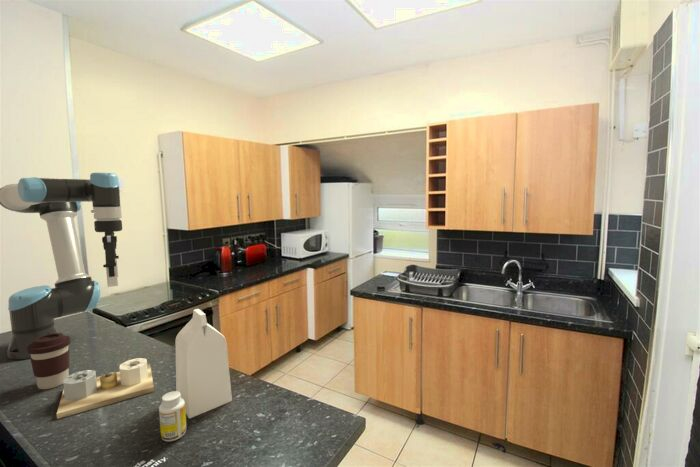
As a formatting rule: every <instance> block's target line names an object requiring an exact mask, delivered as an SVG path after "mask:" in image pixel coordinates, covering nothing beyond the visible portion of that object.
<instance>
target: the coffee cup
mask: <svg viewBox="0 0 700 467" xmlns="http://www.w3.org/2000/svg"><path fill="white" fill-rule="evenodd" d="M70 344H71V337H70V336H69V335H64V334H63V333H61V332H59V333H52V334H47V335H43V336H40V337H38V338H36V339H34V341H33V343H31V344H29V345H28V346H27V352H28V353H29V354H31V358H29V359H30V364H31V368H32V372H33V376H34V378H35V381H36V385H37V389H40V390H49V389H53V388H57V387H60V386H62V385H63V382H64V379H65V378H66V377H68V376H70V373H69V372H70V370H69V368H70V348H69V345H70Z"/></svg>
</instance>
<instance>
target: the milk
mask: <svg viewBox="0 0 700 467" xmlns="http://www.w3.org/2000/svg"><path fill="white" fill-rule="evenodd" d="M228 354H229V353H228V343H227V340H226V337H225V335H223V334H222V333H221V332H220V331H219V330H217V329H216V328H215V327H214V326H212V325H211V324H210V323H208V321H207V316H206V313H204V311H203V310H202V309H199V308H195V309H193V310H192V318H191V319H190V320H189V321H188V322H187V323H186V324H185V325H184V326H183V328H182V329H181V330H180V331H179V332H178V333H177V335H176V337H175V384H176V386H175V387H176V388H175V391H178V392H180V395H181V398H183V399H184V401H185V414H186V417H187V418H188V419H192V418H194V417H196V416H199V415H201V414H204V413H206V412H209V411H211V410H213V409H216V408H218V407H220V406H223V405H226V404H228V403H230V402H233V396H232V385H231V375H230V366H229V365H230V364H229V356H228Z"/></svg>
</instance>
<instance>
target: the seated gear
mask: <svg viewBox="0 0 700 467" xmlns="http://www.w3.org/2000/svg"><path fill="white" fill-rule="evenodd" d="M80 375H82V376H84V378H83V379H79V380H76V378H77V377H78V376H80ZM96 377H97V374H96V370H91V369H86V370H81V371H76V372H73V373H72V374H69V376H68V377H66V378H65V379H64V382H63V384H62V385H63V390H64V395H65V400H70V401H75V400H79V399H83V398H86V397H88V396H90V395H92V394H93V393H95V392H96V391H97V381H96Z"/></svg>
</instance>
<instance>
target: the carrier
mask: <svg viewBox="0 0 700 467" xmlns="http://www.w3.org/2000/svg"><path fill="white" fill-rule="evenodd" d="M136 365H138V364H136V363H132V365H131V366H130V367H132V366H136ZM147 369H148V378H147V379H146V380H144V381H143V382H141V383H138V384H135V385H131V386H126V385H121V378H120V371H110V372H106V373H104V374H102V375H100V376H96V381H97V391H96V392H95V393H93V394H92V395H90V396H88V397H86V398H83V399H79V400H75V401H70V400H65V395H64V389H63V390H62V394H61V398H60V401H59V404H58V407H57V412H56V419H57V420H58V419H62V418H67V417H69V416H73V415H76V414H80V413H83V412H86V411H90V410H93V409H97V408H100V407H104V406H107V405H110V404H111V405H112V404H115V403H119V402H123V401H125V400H128V399H132V398H136V397H139V396H143V395H146V394H149V393H152V392H155V385H154V379H153V374H152V367H151V364H150V363H149V364H148V363H147ZM83 378H84V376H82V375H80V376H78V377H77V378H76V380H79V379H83Z"/></svg>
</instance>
